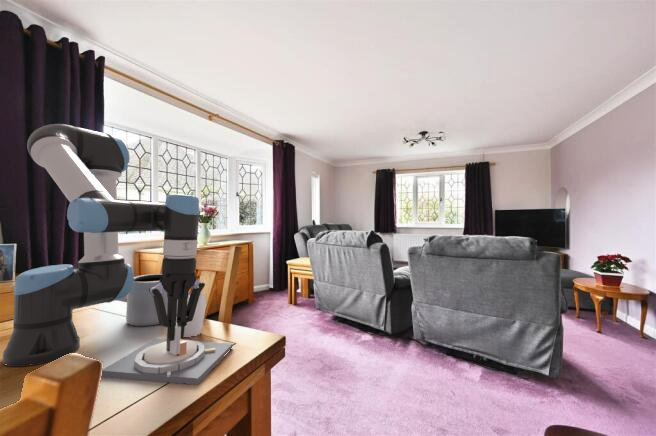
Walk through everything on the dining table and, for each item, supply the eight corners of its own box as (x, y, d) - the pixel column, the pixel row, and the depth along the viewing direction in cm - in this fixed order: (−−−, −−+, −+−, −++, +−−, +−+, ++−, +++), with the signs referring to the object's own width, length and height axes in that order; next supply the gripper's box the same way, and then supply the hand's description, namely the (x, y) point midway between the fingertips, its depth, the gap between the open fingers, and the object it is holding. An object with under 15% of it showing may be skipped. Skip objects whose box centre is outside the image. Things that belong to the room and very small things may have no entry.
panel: (98, 378, 70) (99, 365, 70) (155, 343, 89) (155, 333, 89) (196, 386, 67) (196, 373, 67) (232, 348, 87) (232, 338, 87)
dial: (135, 358, 76) (136, 338, 76) (182, 343, 86) (182, 325, 86) (158, 373, 69) (158, 351, 69) (205, 355, 79) (206, 336, 79)
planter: (186, 315, 115) (187, 275, 115) (153, 330, 100) (154, 283, 100) (151, 311, 119) (152, 272, 119) (114, 325, 103) (115, 280, 103)
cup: (168, 338, 93) (169, 299, 93) (186, 327, 102) (187, 292, 102) (194, 340, 92) (195, 301, 92) (210, 330, 101) (211, 294, 101)
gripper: (158, 259, 67) (152, 366, 66) (211, 256, 77) (206, 349, 76) (145, 256, 71) (140, 355, 71) (197, 254, 81) (192, 341, 81)
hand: (174, 352), depth 73 cm, fingers closed
